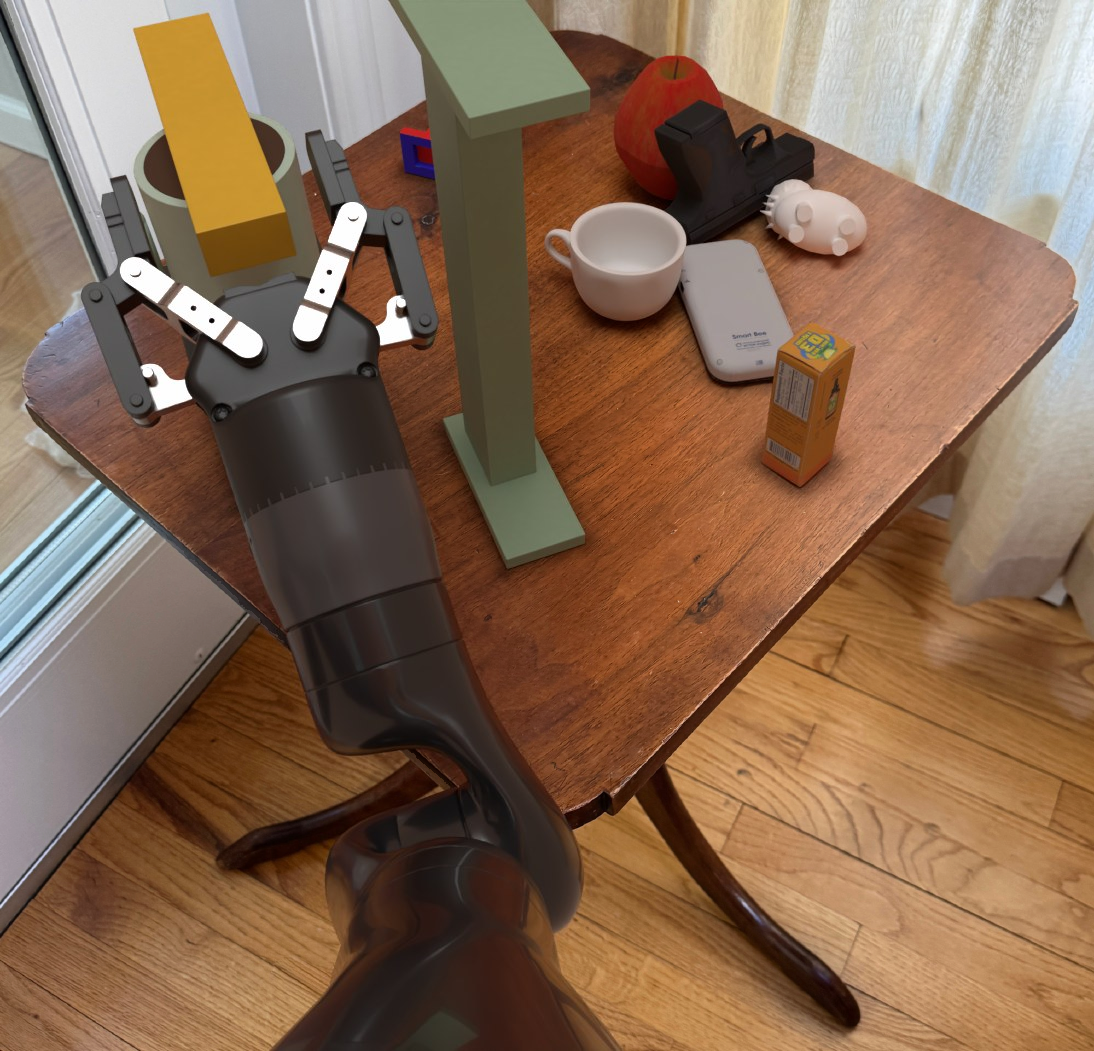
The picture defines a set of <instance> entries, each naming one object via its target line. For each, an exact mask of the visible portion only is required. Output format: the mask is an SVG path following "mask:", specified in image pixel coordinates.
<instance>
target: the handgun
mask: <svg viewBox="0 0 1094 1051" xmlns="http://www.w3.org/2000/svg"><path fill="white" fill-rule="evenodd" d="M664 123H665V124H661V125H660V126H658V127H657V128H656V129H654V133H655V137H656V141H657V144H658V147H659V151H660V152H661V154H662V156H663V158H664V160H665V162H666V163H667V165H668V167H669V169H670V170H671V172H672V174H673V175H674V177H675V180H676V182H677V189H678V190H677V193H676V196H675V199H674V200H672V202H671V204H670V205H669V206H668V207H667V208H665V209H664V210H663V211H664V212H666V213H668V214H669V215H671V216H672V217H673V218H675V219H676V220H677V221H678V222H679V224H680V225H681V226H682V228H683V230H684V232H685V235H686V246H689V245H696V244H703V243H705V242H706V241H708V240H709V239H712V238H714V237H716V236H717V235H719V234H721V233H722V232H724V231H726V230H727V229H729V228H730V227H732V226H733V225H735V224H737V223H738V222H741V221H742V220H744V219H745V218H747V217H749V216H751V215H752V214H754V213H756V212H757V211H758V210H759V211H760V210H761V209H762V208H764V207H766V205H765V204H764V203H767V200H768V198H769V197H767V196H766V195H770V194H771V192H772V190H773V188H774V187H775V186H776V185H778V184H781V183H782V182H784V181H787V180H792V179H794V180H801V181H803V182H805V183H807V182H808V181H810V180H811V179H813V178H814V177H815V162H814V160H815V159H816V149H815V145H814V142H811V141H810V140H808V139H805V138H803V137H801V136H796V135H794V134H792V133H789V132H785V133H783V134H781V135H779V136H778V137H776V138H775V137H774V134H773V131H772V127H771V126H769V125H766V124H764V123H762V122H761V123H757V124H755V125H754V126H752V127H750V128H749V129H746V130H744V131H743V132H742V133H741V134H740V135H738V136H737V137H736V133H735V131H734V128H733V125H732V122H731V120H730V117H729V115H728V111H727V110H725V109H724V110H723V109H721V108H719V107H717V106H714V105H712V104H709V103H707V102H705V101H702V100H698V101H696V102H695V103H693V104H691V105H690V106H688V107H687V108H685V109H683V110H682V111H680V112H679V113H677V114H675V115H674V116H672V117H671V118H669V119H667V120H666V121H665V122H664ZM761 131H764V132H765V133H764V134H765V137H766V138H765V140H764V141H761V142H760V143H758V144H757V145H756V144H755V146H754V147H753V145H754V143H755V142H756V140H757V139H758V137H757V136H755V135H756V134H758V133H759V132H761Z"/></svg>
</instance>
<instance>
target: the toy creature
mask: <svg viewBox="0 0 1094 1051" xmlns="http://www.w3.org/2000/svg"><path fill="white" fill-rule="evenodd" d="M766 196H767V197H769V198H768V200H767V203H764V204H765V210H759V211H760V212H761V214H764V215H765V217H766V220H767V223H768V224H767V225H766V226H765V227H764V228H763V230H767V229H772V230H773V231H774V233H776V234H778V236H777V239H775V240H776V241H779V240H780V239H782V238H784V239H786V240H787V241H788V242H790V243H791V244H793V245H794V246H796V247H798V248H800V249H802V250H805V251H806V252H810V253H815V254H820V255H835V256H837V257H841V256H843V255H845V254H846V253H847V252H851V251H852V250H854V249H856V248H857V247H859V246H860V245H862V243H863V241H864V240H865V239H866V237H867V233H868V223H867V220H866V216H865V214H863V212H862V211H861V209H860V208H859V207H858V206H857V205H856V204H854V203H853V202H852V201H851V200H849V199H848V198H846V197H844V196H842V195H839V194H837V193H835V192H832V191H827V190H822V189H813V188H812V187H811V186H810V185H809V183H807V182H803V181H801V180H794V179H792V180H787V181H784V182H782V183H781V184H778V185H776V186H775V187H774V188H773V190H772V192H771V194H770V195H766Z"/></svg>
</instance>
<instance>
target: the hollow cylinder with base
mask: <svg viewBox="0 0 1094 1051" xmlns="http://www.w3.org/2000/svg"><path fill="white" fill-rule="evenodd" d="M247 112H248V111H247ZM248 115H249V117H250V120H251V122H252V125H253V128H254V130H255V133H256V135H257V138H258V140H259V143H260V146H261V148H262V151H263V153H264V156H265V158H266V161H267V163H268V166H269V169H270V171H271V174H272V176H273V179H274V181H275V184H276V187H277V189H278V192H279V194H280V197H281V199H282V202H283V205H284V207H285V210H286V213H287V217H288V221H289V225H290V229H291V233H292V237H293V241H294V245H295V249H296V253H297V255H296V256H293V257H289V258H285V259H281V260H277V261H273V262H269V263H265V264H261V265H257V266H254V267H250V268H246V269H242V270H238V271H234V272H230V273H226V274H222V275H218V276H215V277H210V275H209V272H208V269H207V266H206V263H205V260H204V257H203V254H202V251H201V248H200V245H199V242H198V239H197V236H196V233H195V229H194V226H193V223H192V220H191V216H190V213H189V210H188V207H187V203H186V200H185V197H184V193H183V190H182V187H181V184H180V180H179V177H178V174H177V171H176V167H175V164H174V161H173V158H172V154H171V151H170V148H169V145H168V141H167V138H166V135H165V132H164V128H162V129H161V130H159V131H157V133H155V134H154V135H153V136H152V137H150V138H149V139H148V140H147V141H146V142H145V143H144V144H143V145H142V146H141V148H140V149H139V151H138V153H137V154H136V157H135V159H134V163H133V177H134V180H135V182H136V185H137V188H138V191H139V193H140V197H141V200H142V202H143V204H144V207H145V210H146V213H147V215H148V218H149V220H150V223H151V226H152V229H153V232H154V234H155V237H156V240H157V242H158V245H159V248H160V250H161V253H162V255H163V259H164V261H165V265H163V262H162V259H161V257H160V253H159V252H158V249H157V246H156V243H155V241H154V238H153V235H152V232H151V230H150V227H149V225H148V222H147V219H146V217H145V215H144V214H143V213H142V211H140V214H141V217H142V220H143V223H144V226H145V229H146V232H147V236H148V239H149V242H150V245H151V248H152V251H153V254H154V257H155V260H156V263H157V267H158V270H159V271H161V272H162V273H163V274H165V275H166V276H168V277H169V278H171V279H172V280H174V281H175V282H177V283H182V284H184V285H185V286H187V287H188V288H190V289H191V290H193V291H194V292H196V293H197V294H198V295H200V296H201V297H203V298H204V299H206V300H207V301H209V302H210V303H212V304H213V303H214V302H215V301H216V300H217V299H218V298H219V297H221V296H222V295H224V292H223V290H225V289H229V288H233V287H237V286H242V285H261V284H263V283H265V282H267V281H269V280H270V279H272V278H274V277H276V276H279V275H282V274H286V273H290V272H294V273H295V276H304V277H308V278H311V279H312V276H313V274H314V271H315V268H316V266H317V263H318V261H319V258H320V255H321V253H322V250H323V248H322V245H321V242H320V240H319V237H318V235H317V233H316V231H315V226H314V222H313V218H312V213H311V209H310V204H309V201H308V196H307V192H306V188H305V183H304V180H303V175H302V171H301V170H302V169H301V166H300V162H299V158H298V153H297V148H296V145H295V141H294V139H293V137H292V134H291V133H290V132H289V131H288V130H287V128H286V127H284V126H283V125H282V124H281V123H279V122H278V121H276V120H274V119H272V118H270V117H267V116H264V115H261V114H258V113H254V112H248ZM180 336H181V340H182V344H183V347H184V351H185V354H186V358H187V361H188V363H189V361H190V359H191V356H192V353H193V351H194V348H195V345H196V344H194V343H193V342H192V341H190V340H189V339H187V338H186V337H184V336H183V335H181V334H180Z"/></svg>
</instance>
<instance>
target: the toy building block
mask: <svg viewBox="0 0 1094 1051" xmlns="http://www.w3.org/2000/svg"><path fill="white" fill-rule="evenodd" d="M399 140H400V149H401V156H402V163H403V171H404V173H407V174H411V175H414V176H415V175H416V176H419V177H424V178H427V179H431V180H435V172H434V164H433V155H432V147H431V138H430V130H429V125H428V126H427V127H426V129H425V130H419V129H415V128H411V127H407V126H403V127H402V129H401V130H400V131H399Z"/></svg>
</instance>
